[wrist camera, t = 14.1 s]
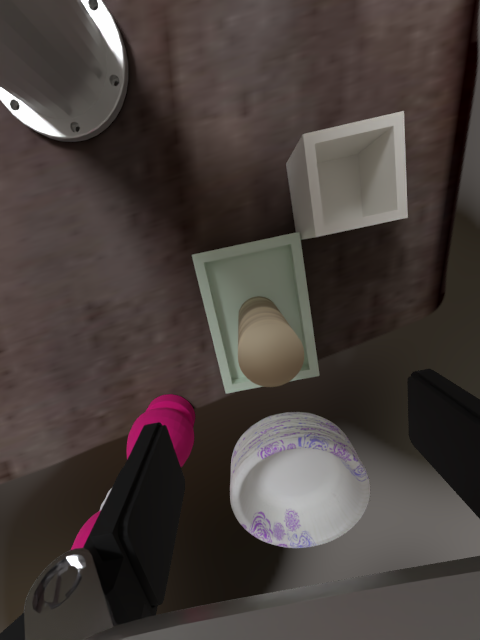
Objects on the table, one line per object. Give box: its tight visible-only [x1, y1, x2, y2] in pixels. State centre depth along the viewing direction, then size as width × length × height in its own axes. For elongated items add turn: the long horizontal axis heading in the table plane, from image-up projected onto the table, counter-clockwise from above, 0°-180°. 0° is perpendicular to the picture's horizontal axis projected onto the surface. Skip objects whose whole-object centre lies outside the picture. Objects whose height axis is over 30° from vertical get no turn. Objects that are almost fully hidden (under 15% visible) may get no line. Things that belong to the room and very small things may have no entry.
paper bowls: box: [230, 412, 370, 548], centre depth 31 cm, size 15×15×8 cm
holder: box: [286, 111, 408, 240], centre depth 24 cm, size 8×8×7 cm
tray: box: [192, 232, 319, 394], centre depth 29 cm, size 16×11×2 cm
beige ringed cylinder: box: [238, 296, 304, 387], centre depth 23 cm, size 4×4×12 cm
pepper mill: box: [71, 394, 195, 550], centre depth 24 cm, size 7×7×20 cm
